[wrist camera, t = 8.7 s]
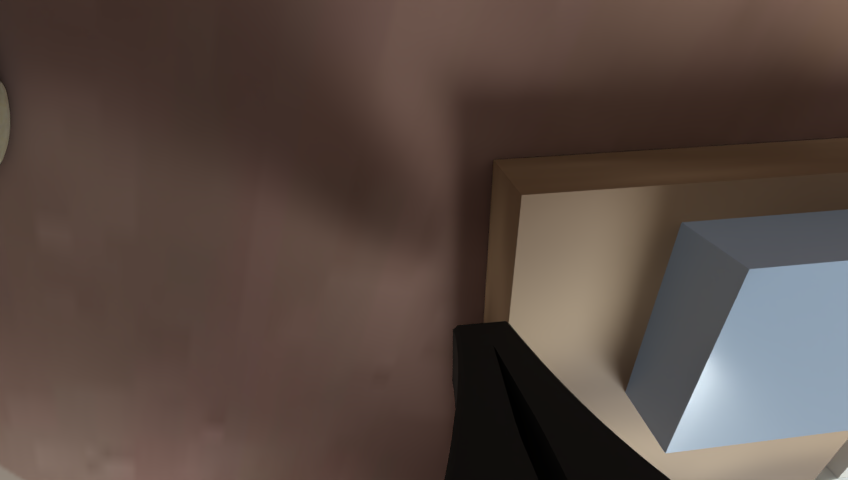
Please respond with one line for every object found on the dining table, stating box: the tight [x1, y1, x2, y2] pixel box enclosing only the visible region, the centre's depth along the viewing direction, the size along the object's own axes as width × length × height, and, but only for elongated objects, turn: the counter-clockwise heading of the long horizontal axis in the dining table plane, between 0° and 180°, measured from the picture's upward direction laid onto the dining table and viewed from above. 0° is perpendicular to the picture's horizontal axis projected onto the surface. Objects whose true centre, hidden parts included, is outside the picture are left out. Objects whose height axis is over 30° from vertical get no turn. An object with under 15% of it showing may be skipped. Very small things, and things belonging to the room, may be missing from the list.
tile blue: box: [625, 209, 848, 453], centre depth 10 cm, size 6×6×2 cm
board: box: [484, 138, 848, 480], centre depth 14 cm, size 15×14×2 cm
